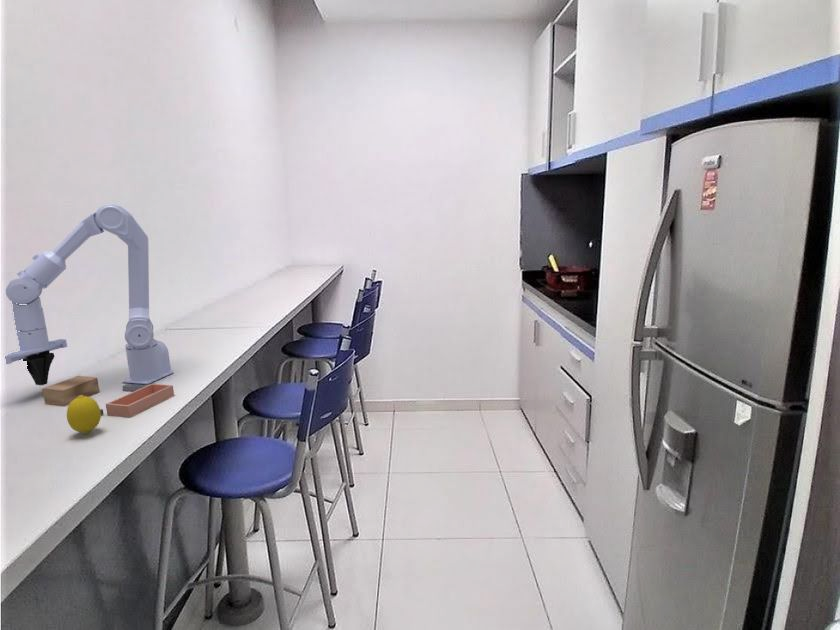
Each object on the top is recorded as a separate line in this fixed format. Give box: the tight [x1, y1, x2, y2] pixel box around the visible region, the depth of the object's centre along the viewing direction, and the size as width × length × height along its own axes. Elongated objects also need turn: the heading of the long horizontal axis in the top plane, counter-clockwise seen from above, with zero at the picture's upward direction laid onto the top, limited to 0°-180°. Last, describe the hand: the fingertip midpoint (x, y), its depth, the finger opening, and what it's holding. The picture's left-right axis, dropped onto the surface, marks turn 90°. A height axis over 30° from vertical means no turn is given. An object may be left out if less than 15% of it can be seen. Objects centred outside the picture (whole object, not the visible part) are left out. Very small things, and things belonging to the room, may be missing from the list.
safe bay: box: [100, 383, 146, 416], centre depth 120 cm, size 16×8×1 cm, turn 164°
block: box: [42, 375, 101, 407], centre depth 123 cm, size 9×6×4 cm, turn 163°
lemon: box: [66, 395, 101, 435], centre depth 102 cm, size 6×6×8 cm
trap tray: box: [105, 383, 175, 418], centre depth 117 cm, size 13×6×2 cm, turn 164°
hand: (41, 384), depth 125 cm, fingers closed
